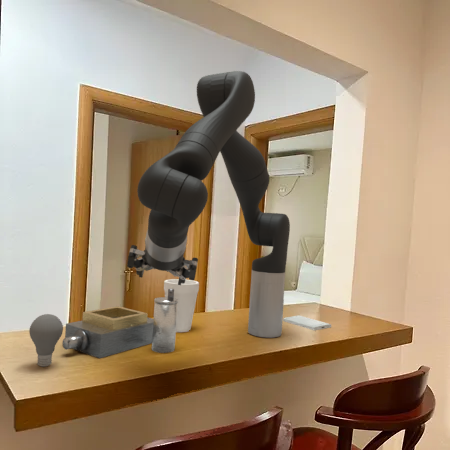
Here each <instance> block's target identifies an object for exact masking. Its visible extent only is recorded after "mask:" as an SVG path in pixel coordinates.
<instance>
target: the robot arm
mask: <svg viewBox="0 0 450 450" xmlns="http://www.w3.org/2000/svg"><path fill="white" fill-rule="evenodd" d="M196 97H197V104H198V107H199V108H200V109H199V110H200V112H201V114H202V116H203V117H202V118H201V119H198V121H196V122H195V123H194V124H192V125H191V126H190V127H189V128H188V129H186V131H185V132H184V133H183V135H182V136H181V137H180V139H179V141H178V142H177V144H176V145H175V147H174V148H173V149H172V150H171V151H169V152H168V153H167V154H165V155H164V156H163V157H161V158H159V159H158V160H157V161H154V162H153V164H151V165H150V166H149V167H148V168H147V169H146V170H145V171H144V173H143V174H142V175H141V177H140V179H139V181H138V183H137V192H136V193H137V197H138V201H140V203H141V205H143V206H144V207H146V208H148V209H150V212H149V214H148V222H147V230H146V233H145V234H146V235H145V240H144V244H145V246H144V247H145V249H144V250H140V249H139V248H138V246H137V245H135V244H131V247H130V249H129V252H128V257H127V264H126V266H127V267H126V268H129V269H133V268H135V270H136V275H138V277H139V278H141V279H142V278H143V276H144V273H145V272H148V271H150V270H158V271H162V272H168V273H170V274H171V275H172V276H173V277H176V278H177V277H178V279H179V281H178V285H181V283H182V284H184V283H185V280H187V279H188V280H193V281H196V280H195V278H196V274H197V268H198V261H199V258H198V257H191V259H185V256H184V255H185V253H186V249H187V247H186V246H187V244H188V232H189V229H190V226H191V224H193V223H194V222H195V221H196V220H197V219H198V218H199V217H200V215H201V214H202V212H203V211H204V210H205V208H206V205H207V203H208V198H209V193H208V188H207V187H206V184H205V183H204V182H203V181H204V180H205V179H206V178H207V177H208V175H209V173H210V172H211V170H212V167H213V166H214V164H215V162H216V160H217V158H218V156H219V154H221V157H222V160H223V162H224V164H225V165H224V166H225V168H226V172H227V174H228V177H229V179H230V182H231V185H232V187H233V190H234V192H235V194H236V197H237V200H238V202H239V205H240V208H241V212H242V214H243V219H244V224H245V227H246V231H247V235H248V238H249V239H250V242H251V243H252V244H253V245H256V246H262V247H270V248H272V251H271V252H270V253H268V254H267V255H266V256H265V255H264V256H263V257H258V258H255V259H254V260H252V262H251V263H252V264H251V277H250V279H251V280H250V290H249V291H250V294H249V306H248V307H249V309H248V310H249V311H248V326H247V332H248V333H249V335H252V336H255V337H260V338H278V337H281V336H282V332H283V331H282V330H283V322H284V321H283V318H284V304H285V303H284V302H285V301H284V300H285V299H284V297H285V282H286V265H287V261H288V259H287V258H288V249H289V248H288V247H289V239H290V230H291V229H290V228H291V223H290V219H289V217H288V214H285V213H277V212H276V213H275V212H263V211H261V210H260V207H259V206H260V203H261V201H262V199H263V198H264V196H265V194H266V192H267V190H268V188H269V184H270V175H269V171H268V167H267V164H266V161H265V157H264V156H263V154H262V153H261V151H260V150H259V149H258V148H257V147H256V146H255V145H254V144H253V143H252V142H250V141H249V140H248V139H246V138H245V137H244V136H243V135H242V134H241V133H240V132H238V129H239V128H240V127H241V126H242V124H243V123H244V122H245V121H246V120H247V118H248V117H249V116H250V115H251V113H252V111H253V109H254V106H255V102H256V101H255V99H256V89H255V85H254V82H253V79H252V77H251V75H250V74H249V73H247V72H245V71H244V70H243V71H241V70H233V71H225V72H220V73H214V74H207V75H205V76H202V77H200V78H199V80H198V82H197V84H196Z"/></svg>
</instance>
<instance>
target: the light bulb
mask: <svg viewBox="0 0 450 450" xmlns="http://www.w3.org/2000/svg"><path fill="white" fill-rule="evenodd" d="M29 326H30V327H29V337H30V339H31V341H32V342H33V344H34V346H35V351H36V354H37V363H36V365H38V366H40V367H41V368H42V367H43V368H45V367H48V366H50V365H51V364H52V363H53V362H52V361H53V360H52V359H53V358H52V357H53V353H54V351H55V348H56V345H57V343H58V342H59V341H60V339H61V337H62V335H63V331H64V325H63V323H62V321H61V319H60V318H59V317H58V316H56V315H54V314H49V313H45V314H41V315H39V316H37V317H36V318H35V319H34V320H33V321H32V322H31V324H30V325H29Z"/></svg>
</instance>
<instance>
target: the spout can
mask: <svg viewBox="0 0 450 450" xmlns="http://www.w3.org/2000/svg"><path fill="white" fill-rule="evenodd" d="M153 302H154V307H153V319H154V321H153V338H152V343H151V351H153V352H155V353H161V354H165V353H166V354H168V353H172V352H175V349H176V348H175V347H176V334H177V332H176V319H177V303H178V299H175V298H174V289H168V297H165V296H164V297H163V296H162V297H155V298H154V301H153Z"/></svg>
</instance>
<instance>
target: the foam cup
mask: <svg viewBox="0 0 450 450" xmlns="http://www.w3.org/2000/svg"><path fill="white" fill-rule="evenodd" d="M178 281H179V278H178V279H177V278H171V279H170V278H169V279H165V280H164V281H163V291H164V297H168V289H174V298H175V299H178V303H177V319H176V333H187V332H190V331H191V328H192V323H193V317H194V313H195V309H196V302H197V297H198V292H200V290H199V289H200V282H199V281H197V280H190V279H186V280H185V283H184V284H182V283H181V285H178ZM189 330H190V331H189Z"/></svg>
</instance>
